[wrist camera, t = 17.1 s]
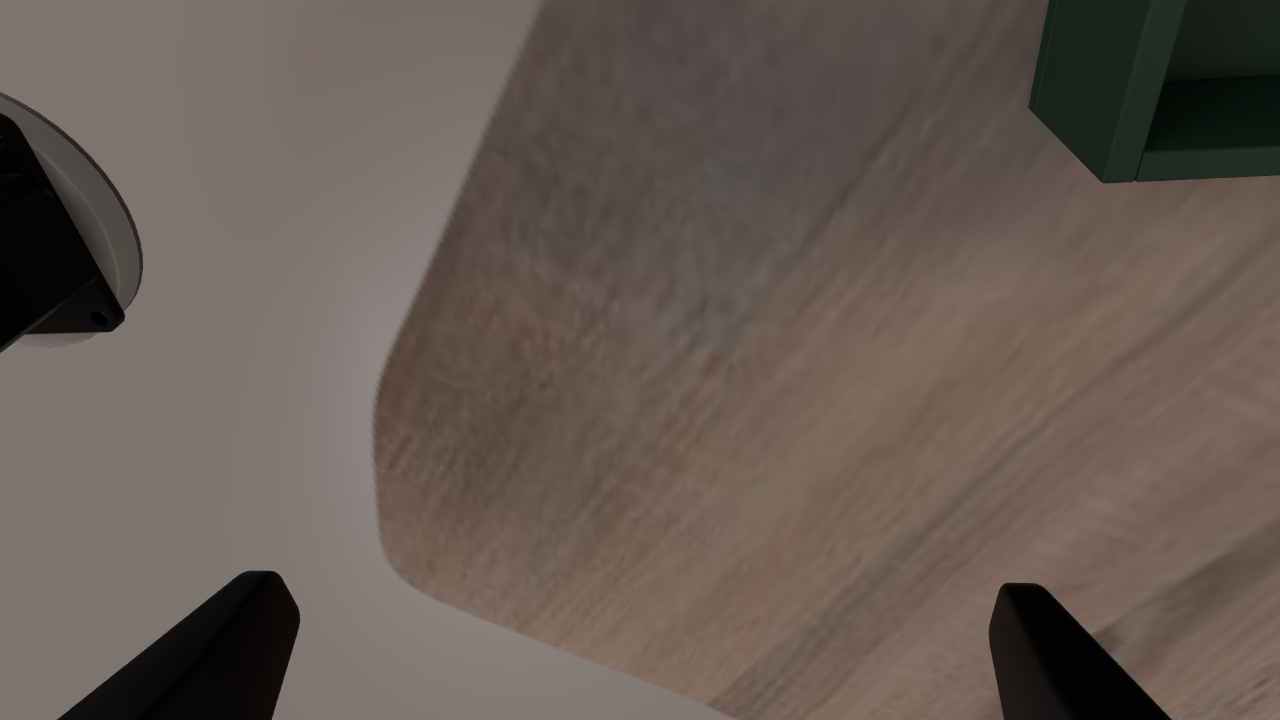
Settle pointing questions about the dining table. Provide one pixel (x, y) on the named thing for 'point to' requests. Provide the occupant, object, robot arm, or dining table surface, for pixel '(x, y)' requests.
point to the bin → (1163, 87)
